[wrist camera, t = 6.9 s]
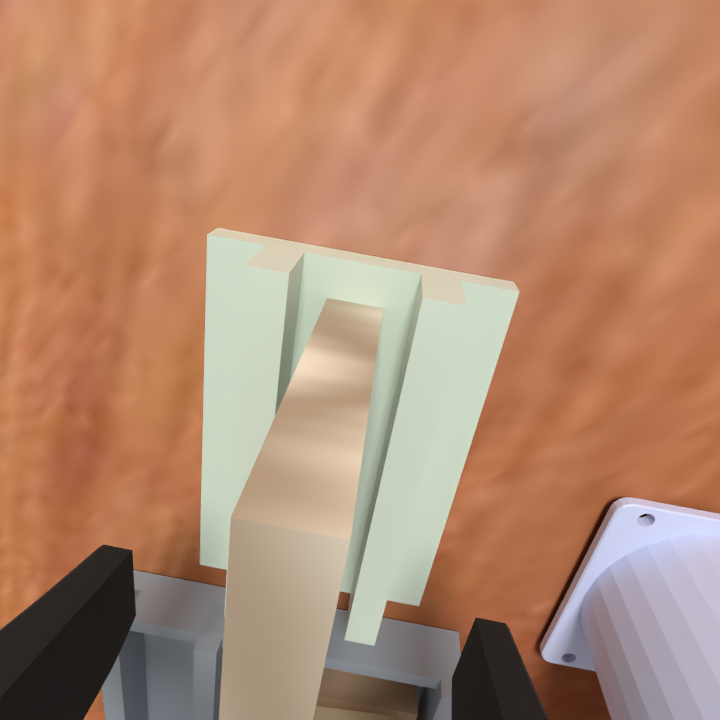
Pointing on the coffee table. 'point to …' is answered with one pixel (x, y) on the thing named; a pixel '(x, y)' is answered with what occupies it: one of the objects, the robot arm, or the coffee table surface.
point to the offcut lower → (367, 694)
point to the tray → (205, 651)
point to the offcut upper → (347, 715)
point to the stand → (387, 404)
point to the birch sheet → (298, 524)
